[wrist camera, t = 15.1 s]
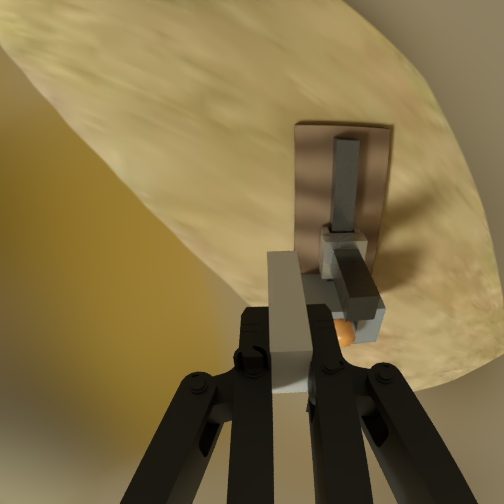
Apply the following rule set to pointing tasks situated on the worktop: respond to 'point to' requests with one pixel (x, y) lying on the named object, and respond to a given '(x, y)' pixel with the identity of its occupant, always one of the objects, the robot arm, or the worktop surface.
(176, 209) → the worktop surface
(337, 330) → the button
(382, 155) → the base board
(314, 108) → the worktop surface
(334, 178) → the rail
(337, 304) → the end cabinet
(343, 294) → the carriage
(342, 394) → the robot arm
